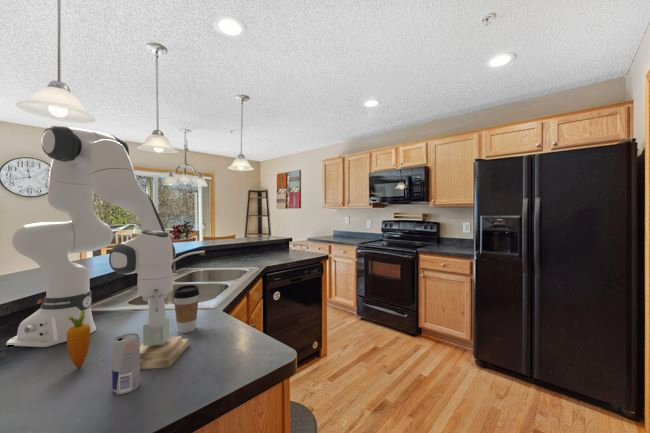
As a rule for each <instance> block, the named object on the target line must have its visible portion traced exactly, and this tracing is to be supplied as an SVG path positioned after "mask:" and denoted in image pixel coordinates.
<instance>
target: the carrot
mask: <svg viewBox="0 0 650 433" xmlns="http://www.w3.org/2000/svg"><path fill="white" fill-rule="evenodd" d="M84 316H85V311H81V315H80V318H79V320H78V319H74V317H72V316H71V317H70V316H69V317H68V319H70V320H71V321H72V322H73V324H74V325H75V326H72V327H70V328H69V329H68V331H67V341H66V346H67V351H68V352H67V353H68V355H69V359H70V361H71V362H72V364H73V365H74V366H75V368H77V369H80V368H81V367H82V366H83V364H84V363H85V360H86V358H87V356H88V353H89V352H88V351H89V349H90V348H89V347H90V343H91V341H90V340H91V333H90V325H88V324H82V322H83V319H84ZM75 320H76V321H75Z"/></svg>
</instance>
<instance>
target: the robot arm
mask: <svg viewBox="0 0 650 433" xmlns="http://www.w3.org/2000/svg"><path fill="white" fill-rule="evenodd" d="M40 142H41V148H42V151H43V152H44V154H45V155H47V157H48V158H50V159H52V160H51V163H50V164H51V165H50V168H49V175H48V188H47V189H48V190H47V202H48V204H49V205H50V206H51V208H53V209H54V210H57V211H59V212H62V213H64V214H67V215H68V217H69V220H68V221H46V222H45V221H44V222H35V223H28V224H24V225H21V226H20V227H18V228H17V229H16V231H15V232H14V233H13V236H12V240H11V241H12V242H11V243H12V247H13V248H14V250H15V251H16V252H17V253H19V254H20V255H22V256H23V257H24V256H25V257H27V258H29V259H31V261H33V262H35V263H36V264H37V265H38V266H39V268H40V269H41V271H42V273H43V275H44V282H45V292H46V293H45V294H46V296H44V297H42V298H40V299H38V300H36V301H37V303H36V304H40V303H41V305H40V308H38V309H37V310H36V311H35V312H34V313H32V314H31V315H29V316H27V317H26V318H24V319H23V320H22V321H21V322H20V323H19V326H18V328H17V331H16V332H17V334H16V336H13V337H11V338H9V340H7V341H6V344H5V345H6V346H8V345H14V346H13V347H33V348H47V347H52V346H55V345H58V344H61V343H64V342H65V343H67V331H68V329H69V328H70V327H72V326H75V325H74V324H73V322H72V321H71V320H70V319H68V317H69V316H70V317H71V316H72V317H74V319H78V320H79V318H80V315H81V311H85V316H84V319H83V322H82V324H88V325H90V334H92V333H94V332H95V331H96V330H97V327H96V325H95V322H94V318H93V314H92V309H91V308H92V290H91V289H90V284H91V283H90V270H89V268H87V267H86V266H85V265H82V264H80V263H77V262H74V261H73V262H72V261H70V259H69V256H68V255H69V254H77V253H86V252H87V253H88V252H89V253H90V252H95V251H98V250H102V249H105V248H108V247H109V246H110V245H111V243H112V241H113V239H114V232H113V230H112V228H111V227H110V225H109V224H108V223H106V222H104V221H103V220H102V219H101V218H100V217H99V216H98V215H97V212H96V211H95V209H94V206H93V205H94V204H93V192H94V193H95V195H97V197H98V198H99V199H101V200H102V201H104V202H106V203H108V204H109V205H112V206H115V207H119V208H122V209H124V210H126V211H129V212H130V213H132V214H133V215H134V216H135V217H136V218H137V219H138V221H139V223H140V225H141V228H142V230H141V231H140V232H139V233H138V234H137V235H136V236H135V237H133V238H131V239H128V240H127V241H126V240H125V241H123V242H120V243H117V244H115V245H114V246H112V249H111V250H110V252H109V257H108V262H109V266H110V268H111V269H112V270H113V271H114V272H115V273H117V274H119V275H132V274H137V279H136V280H137V281H136V282H137V284H136V286H137V296H139V297H142V300H143V301H144V302H147V306H148V320H149V329H150V330H152V331H153V340H157V339H160V337H161V328H163V327H164V326H165V317H166V309H165V308H166V306H165V305H166V302H165V299H167V298H168V297H169V293H171V292H173V291H174V272H173V269H172V264H173V261H174V259H175V257H176V248H175V246H174V244H173V242H172V238H171V235H170V233H168V232H167V231H166V230H165V226H164V224H163V222H162V219H161V217H160V215H159V213H158V210H157V209H156V206H155V204H154V202H153V200H152V198H151V196H150V195H149V194H147V193H146V191H145V190H144V189H143V188H142V187H141V185H140V183H139V182H138V179H137V177H136V174H135V170H134V166H133V164H132V161H131V159H130V148H129V146H128V143H127V142H126V140H124V139H123V138H121V137H119V136H118V137H117V136H115V135H113V134H111V135H110V134H106V133H104V132H100V131H95V130H92V129H89V130H88V129H83V128H76V127H69V126H67V125H49V126H48V127H47V128H46V129H44V131H43V133H42V135H41V140H40ZM75 321H76V320H75Z"/></svg>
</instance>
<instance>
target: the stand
mask: <svg viewBox="0 0 650 433" xmlns="http://www.w3.org/2000/svg"><path fill="white" fill-rule="evenodd" d="M189 346H190V338H183V336H182V335H179V336H169V338H168V339H167V340H166V341H165V342H164V344H161V345H150V346H143V341H142V342H141V343H140V370H146V369H148V370H149V369H150V370H151V369H165V368H169V369H170V368H171V367H172V366H173V364H174V363H175V362H176V361H178V359H179V358H180V357H181V355H182V354H183V353H184V352H185V350H186V349H187V348H188V347H189Z"/></svg>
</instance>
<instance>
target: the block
mask: <svg viewBox="0 0 650 433" xmlns="http://www.w3.org/2000/svg"><path fill="white" fill-rule="evenodd" d="M142 325H143V326H142V329H143V330H142V333H143V335H142V337H143V340H142V342H143V346H150V345H161V344H164V342H165V341H166V340H167V339H168V338H169V337H170V316H165V326H164V327H163V328H161V337H160V339H157V340H153V331H152V330H150V329H149V319H148V320H147V321H146V322H144V323H143V324H142Z"/></svg>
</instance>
